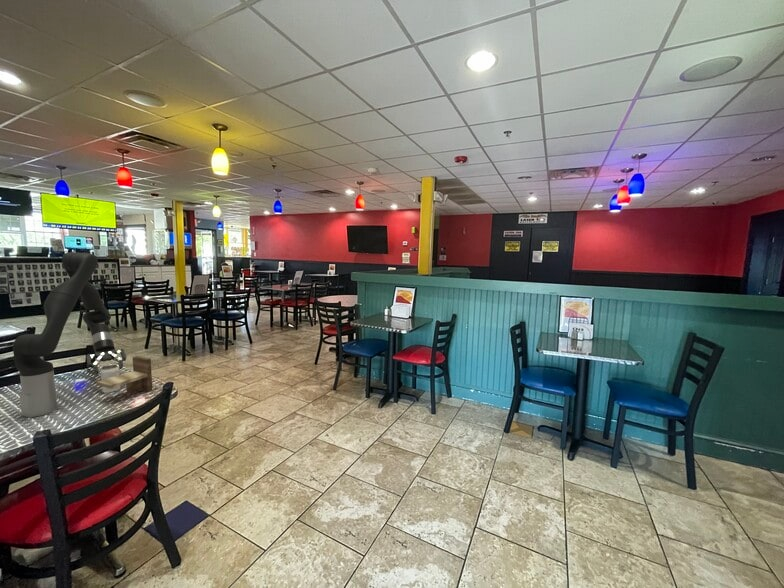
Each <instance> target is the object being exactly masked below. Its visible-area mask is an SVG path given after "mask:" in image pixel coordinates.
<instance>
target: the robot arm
mask: <svg viewBox="0 0 784 588" xmlns="http://www.w3.org/2000/svg"><path fill="white" fill-rule="evenodd" d="M98 262H99V261H98V257H97V256H96V255H95V254H93V253H89V252H88V253H87V252H78V251H77V252H75V251H74V252H73V251H70V252H69V251H68V252H66V253H64V254H63V256H62V259H61V263H62V264H61V265H62V267H63V268H64V270H65V272H66V275H68V277H69V278H68V279H67V280H64V281H63V282H62V283H60V284H58V285H57V286H55V287H54V288H52V289H51V290H50V292H49V294H47V296H46V299H45V300H44V302H43V311H44V315H45V316H46V324H45V326H44V328H43V330H42V332H41V333H27V334H26V333H25V334H21V335H19V336H18V337H16V339H14V341H13V345H12V354H13V358H14V363H15V368H16V370H17V371H18V372H19V378H20V387H21V389H20V390H21V392H19V395H18V396H19V401H20V402H19V403H20V412H21V416H23V417H25V418H29V419H31V418H34V417H35V418H36V417H41V416H44V415H47V414H50V413H53V412H55V411H56V410H57V409H58V402H57V393H56V381H55V371H54V364H53V363H52V362H50V361H47V360H45V359H44V357H48V356H50V355H52V354H53V353H54V352H55V350H56V349H57V347H58V344H59V342H60V339H61V336H62V333H63V330H64V328H65V326H66V324H67V322H68V319H69V318H70V315H71V313H72V311H73V309H74V307H75V306H76V303H78V300H79V297H80V299H81V303H82V306H83V308H84V309H86V310H89V311H87V312H86V311H85V313H83V315H82V321H83V322H84V323H85V325H86V326H87V327H88V328H89V330H90V333H91V341H92V342H91V343H92V347H93V350H94V354H91V353H88V354H87V355H86V364H87V365H86V367H87V368H93V372H94V374H96V375H98V374H99V373H100V370H99V366H98V365H99V364H100V363H101V362H107V361H115V362H117V364H118V369H119V370H122V369H123V368H124V363H123V362H126V360H127V355H126V353H125V349H124V348H121V349H118V350H116V348H115V344H114V340H113V339H114V338H113V336H112V334H111V330H110V327H109V325H108V324H107V323H108V322H110V321H111V319H112V315H111V313H110V311H109V310H108V309H107V308H106V307H105V305H104V304H103V301H102V298H101V295H100V292H99V291H98V289H97V288H96V287H95V286H94V285H93V284H92V283H91V282H89V280H90V278H91V277H92V276H93V274H94V272H95V271H96V269H97V267H98ZM117 354H118V355H117ZM119 355H120V356H119ZM40 357H43V359H41V358H40ZM93 359H95V361H94V362H92V360H93Z"/></svg>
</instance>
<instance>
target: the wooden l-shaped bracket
mask: <svg viewBox="0 0 784 588" xmlns="http://www.w3.org/2000/svg"><path fill="white" fill-rule="evenodd" d="M152 377H153V373H152V360H151V358H149V357H143V356H138V355H136V356H132V371H129V372H124V373H121V374H119V375H118V376H114V377H111V378H108V379H104V380H98V381H96V386H99V387H102V386H103V387H107V388H111V389H112V388H115V387H118V386H120V387H121V386H122V385H123V386H124V385H125V387H126V395H128V396H130V395H132V393H133V394H135V393H138V392H141V391H144V392H148V391H149V392H151V391H153V390H154V389H153V378H152ZM140 390H141V391H140ZM150 390H151V391H150Z"/></svg>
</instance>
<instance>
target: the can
mask: <svg viewBox="0 0 784 588" xmlns="http://www.w3.org/2000/svg"><path fill="white" fill-rule="evenodd" d="M119 370H120V368H119V366H118V365H117V364H110V365H105V366H103V367H101V370H100V376H101V377H100V379H101V380H104V379H108V378H111V377H114V376H118V375H120V371H119ZM101 380H100V381H101ZM120 389H121V386H118V387H115V388H112V389H111V388H107V387H103V386H101V391H102V393H103V392H104V393H103V394H111V393H110V392H112V393H115V392H117V390H118V391H119V390H120ZM114 391H115V392H114Z"/></svg>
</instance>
